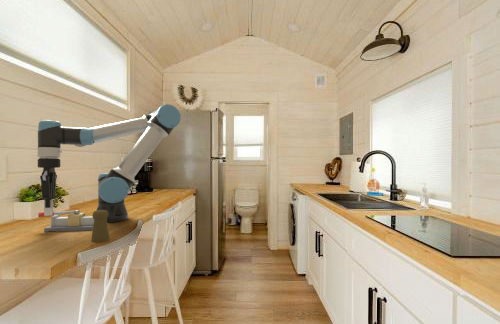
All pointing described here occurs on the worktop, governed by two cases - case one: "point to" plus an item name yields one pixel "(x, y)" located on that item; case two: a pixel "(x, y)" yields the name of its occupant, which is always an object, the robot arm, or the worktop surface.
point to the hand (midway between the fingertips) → (48, 215)
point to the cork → (100, 226)
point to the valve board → (69, 228)
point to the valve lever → (59, 213)
